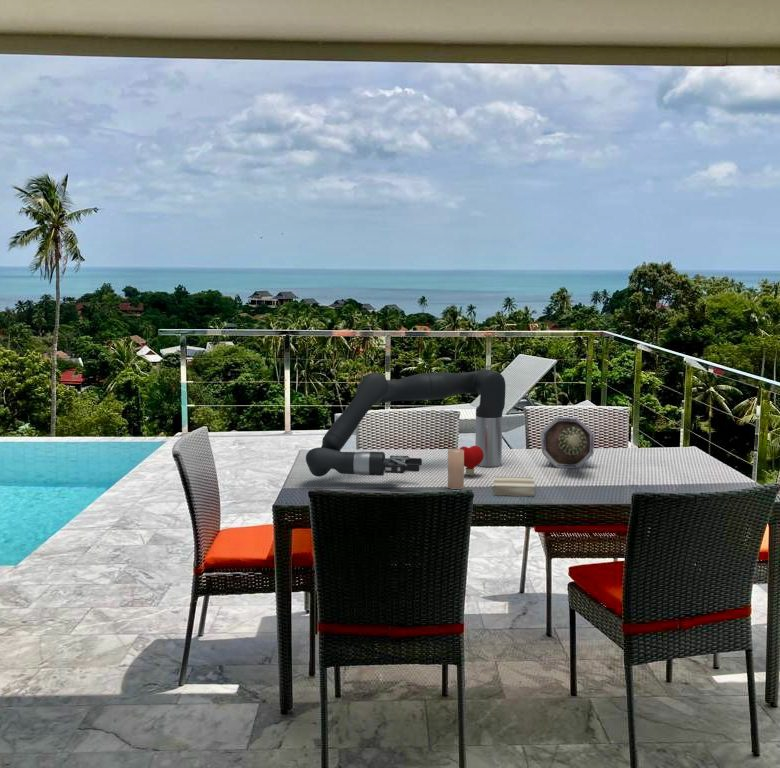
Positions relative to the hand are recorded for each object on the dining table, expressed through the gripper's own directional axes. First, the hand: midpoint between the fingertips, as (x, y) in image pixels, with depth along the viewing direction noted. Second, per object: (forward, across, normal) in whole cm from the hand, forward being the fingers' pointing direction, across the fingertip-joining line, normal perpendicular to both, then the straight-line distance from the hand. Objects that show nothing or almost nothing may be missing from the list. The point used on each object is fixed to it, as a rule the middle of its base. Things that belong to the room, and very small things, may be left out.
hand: (420, 464), depth 265 cm
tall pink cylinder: (+11, 0, +7) cm, 13 cm away
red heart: (+15, +16, +7) cm, 23 cm away
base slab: (+29, -2, +7) cm, 30 cm away
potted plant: (+48, +31, +7) cm, 58 cm away
